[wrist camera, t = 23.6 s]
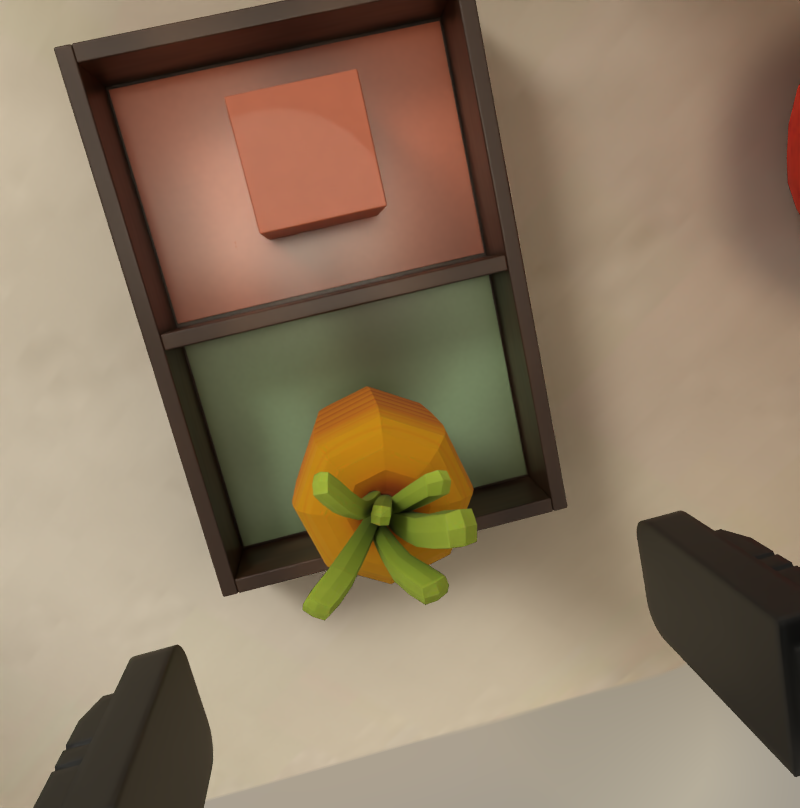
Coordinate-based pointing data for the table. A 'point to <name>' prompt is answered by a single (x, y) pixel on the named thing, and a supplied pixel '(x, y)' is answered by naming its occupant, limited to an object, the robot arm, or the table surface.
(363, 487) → the carrot
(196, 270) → the sorting tray
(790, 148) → the apple
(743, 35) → the table surface
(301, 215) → the terracotta block
